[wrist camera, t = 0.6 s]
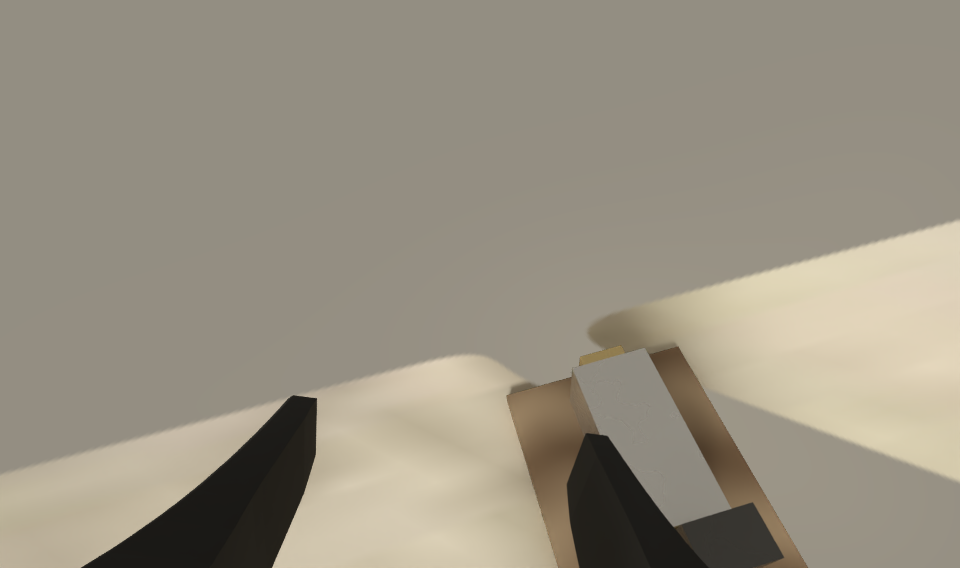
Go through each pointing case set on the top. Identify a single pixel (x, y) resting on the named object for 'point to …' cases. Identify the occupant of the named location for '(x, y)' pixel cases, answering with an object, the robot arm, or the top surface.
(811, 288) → the top surface
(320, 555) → the top surface
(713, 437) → the base board
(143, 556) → the robot arm
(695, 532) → the inner sliding bolt
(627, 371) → the sleeve
